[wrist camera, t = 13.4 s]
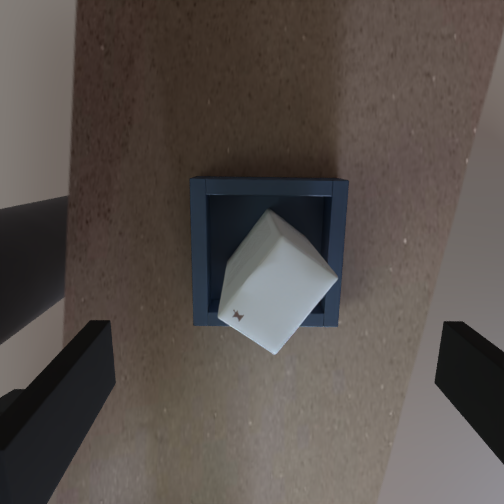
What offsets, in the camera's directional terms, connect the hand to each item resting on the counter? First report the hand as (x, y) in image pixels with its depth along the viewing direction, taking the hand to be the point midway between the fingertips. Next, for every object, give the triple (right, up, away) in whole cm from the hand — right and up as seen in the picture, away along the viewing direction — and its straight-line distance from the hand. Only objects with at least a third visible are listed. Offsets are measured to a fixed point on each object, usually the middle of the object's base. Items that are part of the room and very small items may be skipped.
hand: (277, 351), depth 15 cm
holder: (0, +4, +18) cm, 19 cm away
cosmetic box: (0, +4, +18) cm, 18 cm away
